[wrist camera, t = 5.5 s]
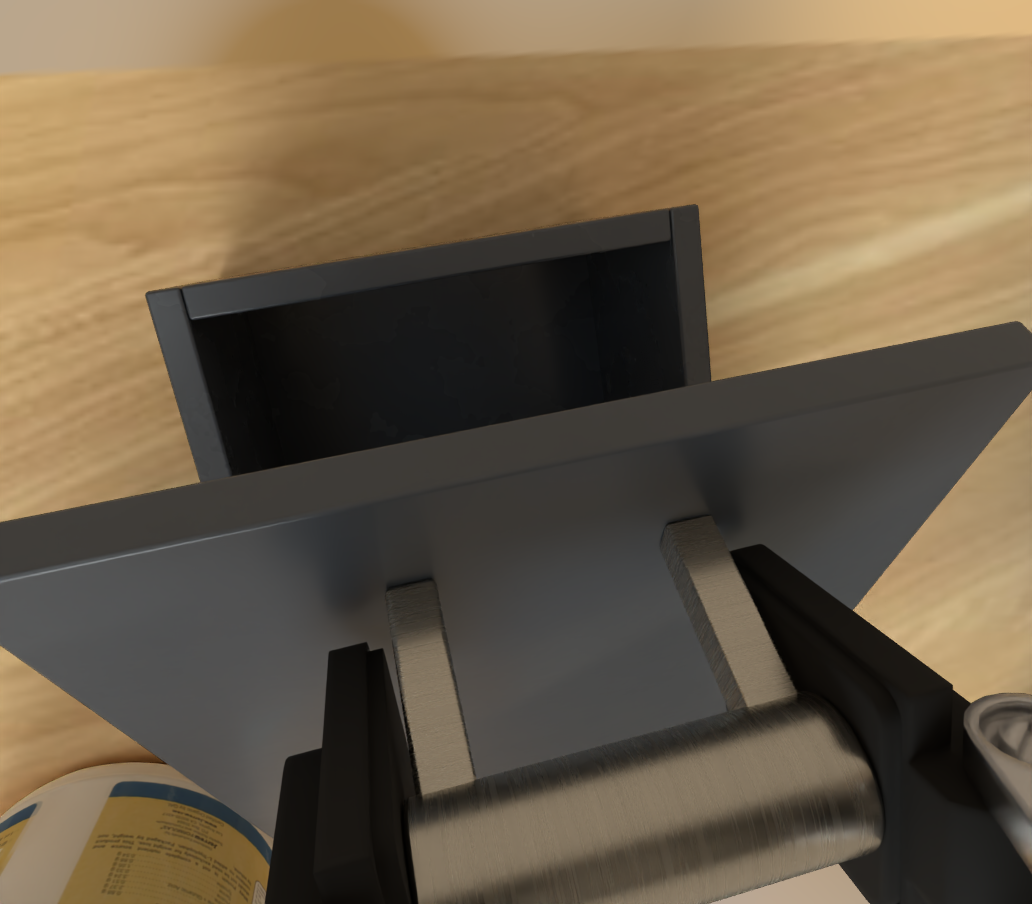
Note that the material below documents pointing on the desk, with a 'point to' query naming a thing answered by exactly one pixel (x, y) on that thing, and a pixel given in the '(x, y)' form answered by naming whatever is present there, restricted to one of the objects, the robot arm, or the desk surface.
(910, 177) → the desk surface
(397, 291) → the chest
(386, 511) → the lid
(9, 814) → the supplement tub
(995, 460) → the desk surface
